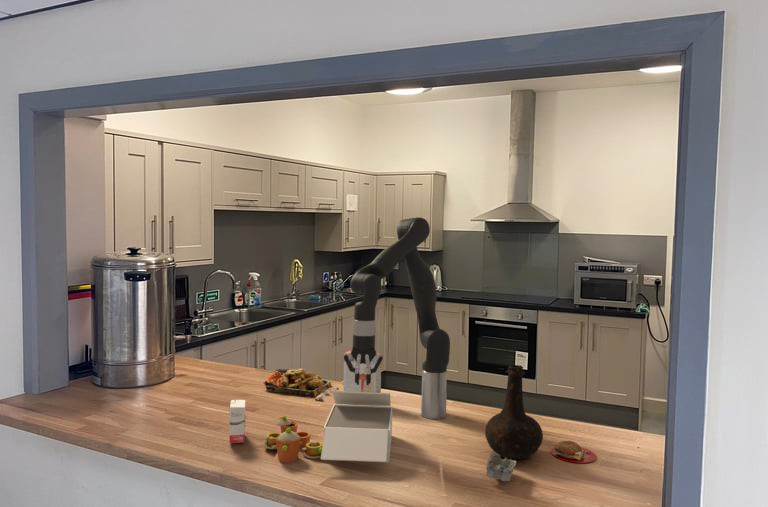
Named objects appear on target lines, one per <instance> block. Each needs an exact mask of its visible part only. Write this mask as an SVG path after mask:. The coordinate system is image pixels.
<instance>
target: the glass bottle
mask: <svg viewBox="0 0 768 507" xmlns="http://www.w3.org/2000/svg"><path fill="white" fill-rule="evenodd" d="M507 367H508V369H507V370H505V373H508V374H507V382H506V391H505V398H504V402H503V406H502V409H501V411H500V412H499V413H497V414H494V415H493V416H492V417H491V418H490V419H489V420H488V421H487V423H486V426H485V429H484V430H485V432H484V433H485V439H486V442H487V444H488V445H489V447H490V448H491V450H492V452H493V451H494V453H495V454H498V455H500V457H502V458H507V459H509V460H510V459H511V460H522V459H526V458H530V457H531V456H533V455H534V454H535V453H536V452H537V451H538V450H539V449H540V447H541V446H542V443H543V439H544V434H543V429H542V427H541V425H540V423H539V422H538V421H537V420H536V419H534V418H533V417H532V416H530V415H528V414H526V412H525V407H524V396H523V376H525V374H526V372H525V371H523V370H524V367H523V366H521V365H518V364H511V365H509V366H507Z"/></svg>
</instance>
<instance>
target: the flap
mask: <svg viewBox="0 0 768 507" xmlns="http://www.w3.org/2000/svg"><path fill="white" fill-rule="evenodd" d="M366 378H367V376H366V374H364V373H362V374H360V376H359V379H360V381H361V392H344V391H343V390H342V391H341V390H339V391H338V390H333V391H332V396H333V399H334V404H335V405H377V406H390V407H392V406H391V405H392V404H391V392H381V393H372V392H363V388H364V381H365V380H366Z"/></svg>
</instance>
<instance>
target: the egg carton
mask: <svg viewBox="0 0 768 507" xmlns="http://www.w3.org/2000/svg"><path fill="white" fill-rule="evenodd" d="M516 464H517V460H516V459H510V458H506V457H504V459H502V458H501V456H500V455H499V454H497V453H496V452H495V451H493V450H492V452H491V454H490V457H489V458H488V461H486V466H485V467H486V468H485V469H486V474H485V475H486V476H487V477H488V478H490V479H499V480H501V481H503V482H511V478H512V476H513V472H514V467H515V466H516Z"/></svg>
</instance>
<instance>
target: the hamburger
mask: <svg viewBox="0 0 768 507" xmlns="http://www.w3.org/2000/svg"><path fill="white" fill-rule="evenodd" d="M550 453H551V455H553V456H554V457H556V458H558V459H560V460H563V461H565V462H566V461H567V462H571V463H576V464H577V463H578V464H585V463H586V464H587V463H588V464H589V463H592V462H595V461H596V460H597V458H598V456H597V454H596V453H595V452H593V451H592V450H590V449H588V448H586V447H585V448H584V447H581V445H580V444H578V443H577V442H575V441H573V440H562V441H561V440H560V441H559V442H558V443H557V444H555V445H554V446H552V447H551V448H550ZM584 455H585V456H587V457H585V458H582V457H583V456H584Z"/></svg>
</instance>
